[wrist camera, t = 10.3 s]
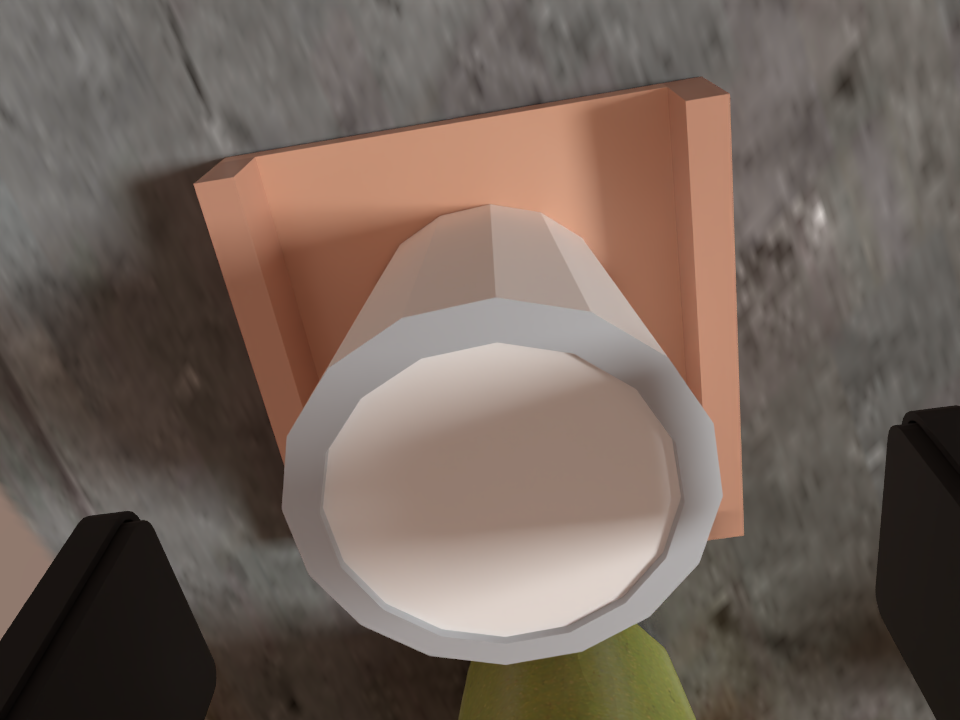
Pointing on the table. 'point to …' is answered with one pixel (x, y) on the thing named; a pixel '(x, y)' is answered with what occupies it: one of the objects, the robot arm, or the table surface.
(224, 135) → the table surface
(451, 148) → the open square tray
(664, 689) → the plant pot
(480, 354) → the white cup
